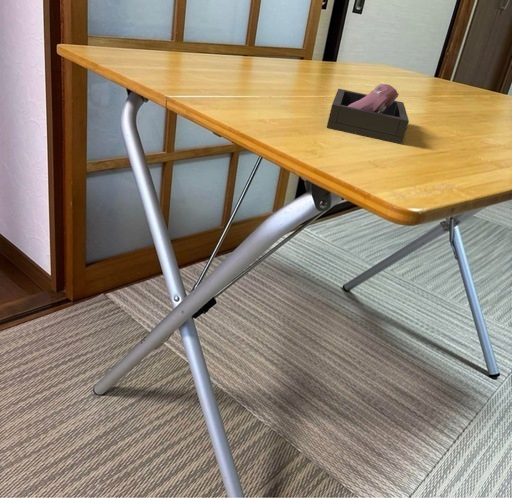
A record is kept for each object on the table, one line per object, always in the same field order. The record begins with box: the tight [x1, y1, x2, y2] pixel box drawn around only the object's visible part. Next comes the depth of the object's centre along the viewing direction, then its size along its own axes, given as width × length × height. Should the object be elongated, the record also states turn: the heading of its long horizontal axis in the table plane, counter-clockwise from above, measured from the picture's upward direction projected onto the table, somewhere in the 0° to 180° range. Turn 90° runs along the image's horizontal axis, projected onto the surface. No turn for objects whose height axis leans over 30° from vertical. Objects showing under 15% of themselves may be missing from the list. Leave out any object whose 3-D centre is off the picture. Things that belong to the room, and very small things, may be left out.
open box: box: [326, 88, 410, 145], centre depth 83 cm, size 11×15×4 cm
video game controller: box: [348, 83, 399, 114], centre depth 81 cm, size 10×5×7 cm, turn 151°
